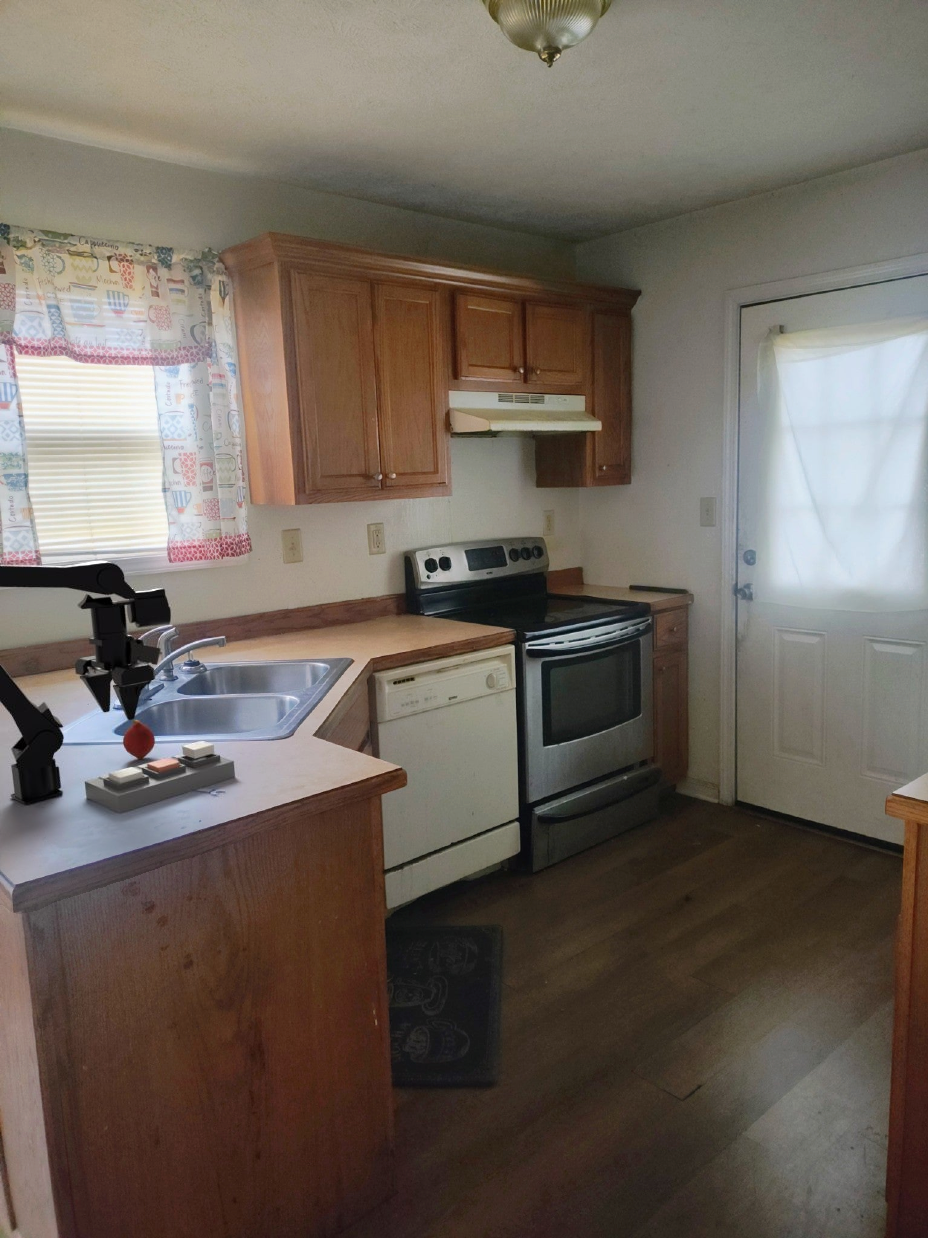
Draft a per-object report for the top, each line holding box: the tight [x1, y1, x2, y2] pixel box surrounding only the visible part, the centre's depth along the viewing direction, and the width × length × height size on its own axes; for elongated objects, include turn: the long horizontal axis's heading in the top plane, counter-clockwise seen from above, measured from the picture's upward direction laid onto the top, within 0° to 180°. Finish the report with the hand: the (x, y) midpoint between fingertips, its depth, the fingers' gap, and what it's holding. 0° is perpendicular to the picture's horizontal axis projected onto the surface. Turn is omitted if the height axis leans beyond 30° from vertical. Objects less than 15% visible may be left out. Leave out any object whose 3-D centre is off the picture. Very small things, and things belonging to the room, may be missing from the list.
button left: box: [108, 766, 143, 784], centre depth 147 cm, size 4×4×2 cm
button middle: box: [146, 757, 180, 773], centre depth 152 cm, size 4×4×2 cm
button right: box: [181, 740, 215, 758], centre depth 157 cm, size 4×4×2 cm
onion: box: [122, 719, 156, 760], centre depth 169 cm, size 6×6×8 cm
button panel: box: [84, 752, 236, 814], centre depth 153 cm, size 22×12×4 cm, turn 138°
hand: (118, 715), depth 156 cm, fingers open, 9 cm apart
